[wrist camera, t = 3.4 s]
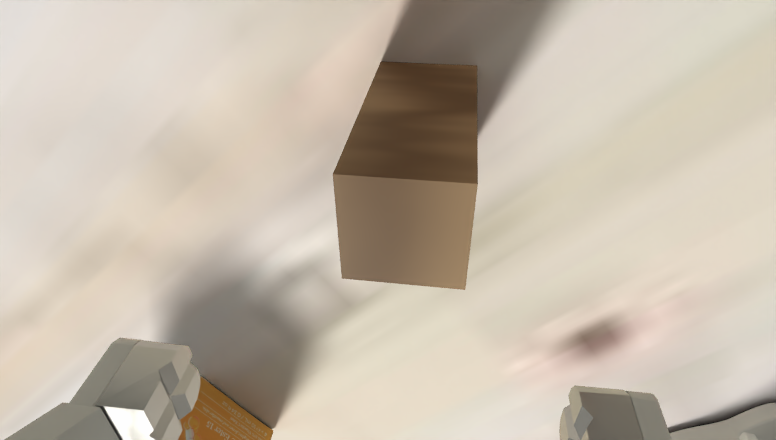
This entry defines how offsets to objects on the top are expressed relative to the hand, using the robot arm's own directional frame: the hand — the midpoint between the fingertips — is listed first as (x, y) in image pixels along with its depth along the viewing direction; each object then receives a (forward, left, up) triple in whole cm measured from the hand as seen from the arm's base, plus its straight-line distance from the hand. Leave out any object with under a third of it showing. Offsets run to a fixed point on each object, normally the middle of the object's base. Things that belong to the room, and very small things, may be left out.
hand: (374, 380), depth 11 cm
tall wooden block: (0, 0, -14) cm, 14 cm away
